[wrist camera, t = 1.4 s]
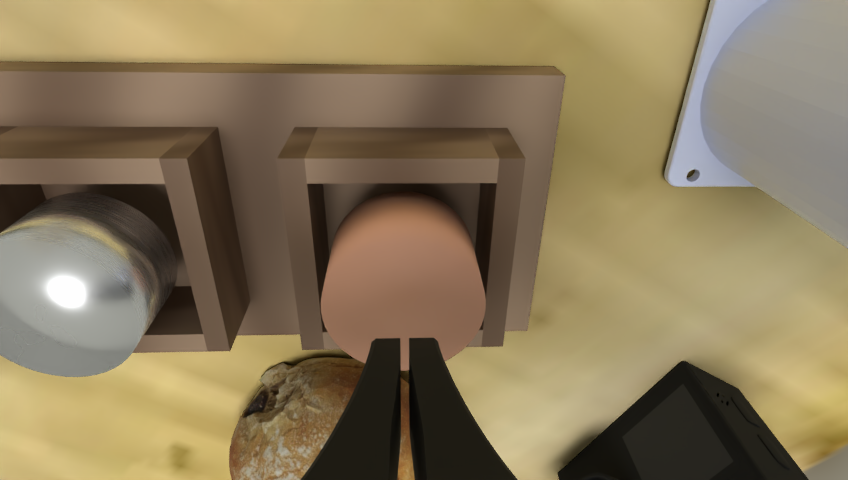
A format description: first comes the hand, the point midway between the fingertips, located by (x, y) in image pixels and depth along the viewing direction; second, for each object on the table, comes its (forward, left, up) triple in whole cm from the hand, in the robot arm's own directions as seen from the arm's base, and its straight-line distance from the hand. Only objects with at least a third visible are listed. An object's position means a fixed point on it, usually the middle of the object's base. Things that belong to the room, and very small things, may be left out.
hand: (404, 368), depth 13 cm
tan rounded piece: (0, 0, -5) cm, 5 cm away
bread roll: (+3, +13, -10) cm, 16 cm away
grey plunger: (+10, 0, -5) cm, 11 cm away
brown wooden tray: (+5, 0, -9) cm, 11 cm away
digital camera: (-13, +14, -10) cm, 21 cm away
